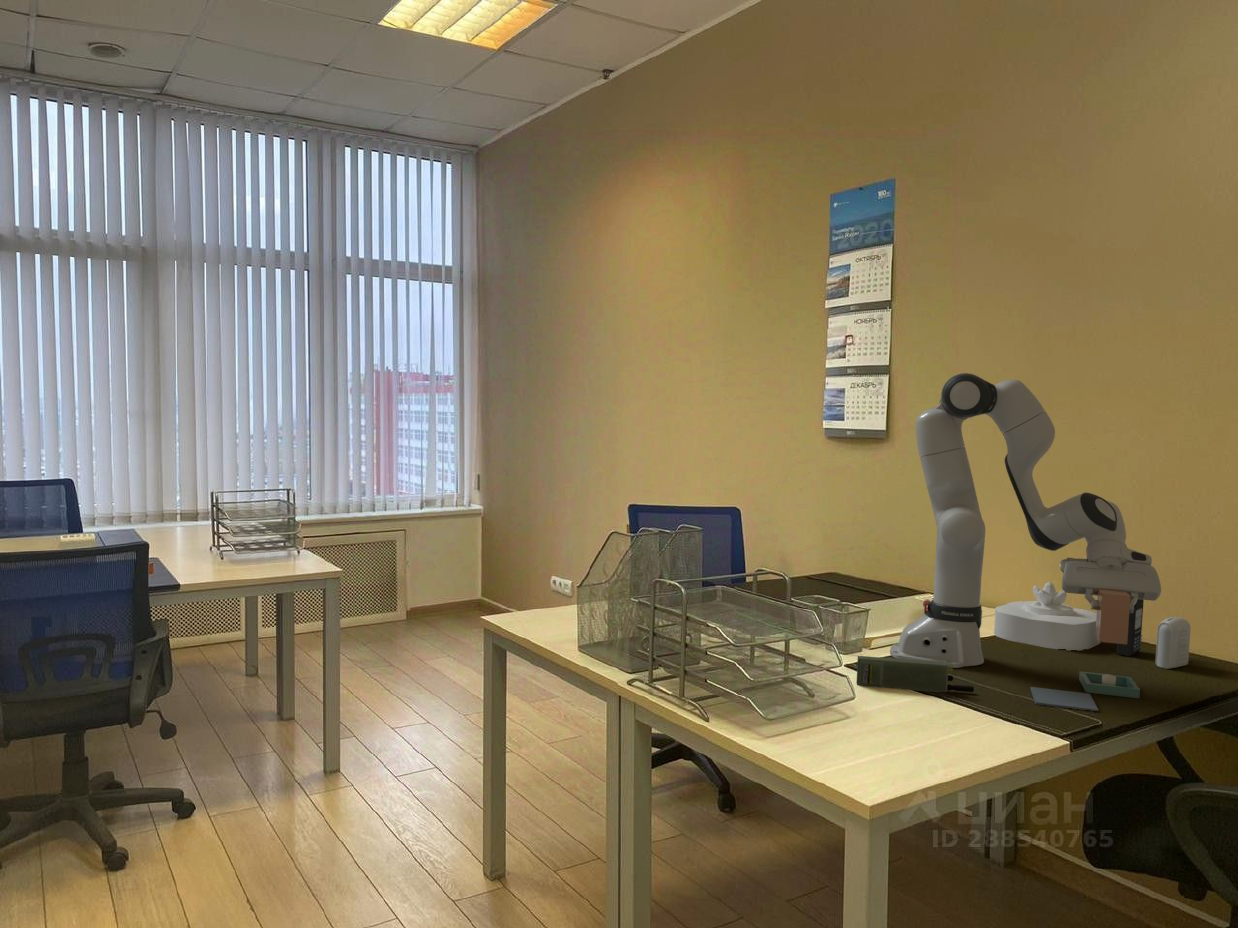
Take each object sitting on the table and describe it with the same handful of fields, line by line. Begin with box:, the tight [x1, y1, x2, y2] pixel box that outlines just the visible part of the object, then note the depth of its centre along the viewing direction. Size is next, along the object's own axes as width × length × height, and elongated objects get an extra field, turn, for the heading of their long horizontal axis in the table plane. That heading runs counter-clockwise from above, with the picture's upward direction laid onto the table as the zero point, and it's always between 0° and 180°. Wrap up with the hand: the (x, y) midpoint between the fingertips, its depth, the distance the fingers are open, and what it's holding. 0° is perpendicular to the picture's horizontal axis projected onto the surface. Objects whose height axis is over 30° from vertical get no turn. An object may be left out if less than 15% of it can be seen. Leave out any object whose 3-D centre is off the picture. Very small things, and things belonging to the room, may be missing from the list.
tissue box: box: [993, 581, 1101, 651], centre depth 257 cm, size 25×25×16 cm
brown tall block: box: [1095, 589, 1130, 645], centre depth 207 cm, size 6×6×11 cm
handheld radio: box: [855, 655, 975, 693], centre depth 204 cm, size 7×3×25 cm
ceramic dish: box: [1078, 670, 1141, 699], centre depth 208 cm, size 11×11×3 cm
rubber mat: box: [1030, 686, 1099, 712], centre depth 199 cm, size 12×12×1 cm
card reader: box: [1116, 599, 1145, 657], centre depth 241 cm, size 9×4×15 cm, turn 136°
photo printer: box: [1154, 616, 1192, 669], centre depth 230 cm, size 10×4×12 cm, turn 123°
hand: (1112, 609), depth 208 cm, fingers closed on brown tall block, 6 cm apart
